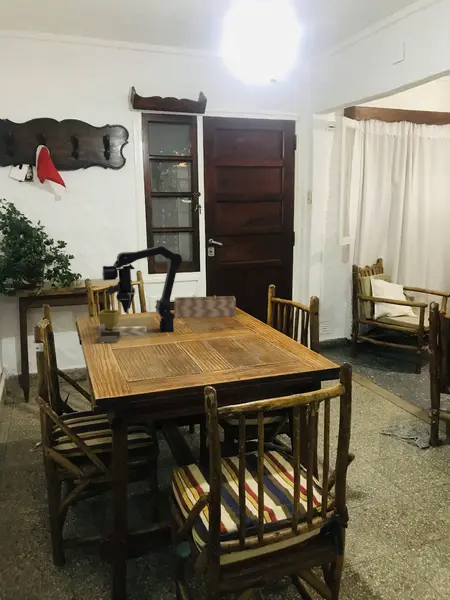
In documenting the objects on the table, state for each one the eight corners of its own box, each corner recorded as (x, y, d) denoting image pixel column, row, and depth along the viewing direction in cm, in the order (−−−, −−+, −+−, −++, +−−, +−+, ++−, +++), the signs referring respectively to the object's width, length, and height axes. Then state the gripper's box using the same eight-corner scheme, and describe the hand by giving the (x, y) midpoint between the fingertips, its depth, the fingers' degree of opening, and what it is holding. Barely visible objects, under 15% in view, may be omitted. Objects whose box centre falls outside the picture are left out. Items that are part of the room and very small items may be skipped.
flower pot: (120, 326, 257) (119, 309, 255) (115, 330, 248) (114, 313, 247) (104, 326, 258) (103, 309, 256) (98, 330, 249) (97, 313, 248)
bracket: (120, 337, 235) (119, 323, 234) (117, 342, 225) (116, 328, 224) (102, 337, 235) (102, 323, 233) (98, 343, 225) (98, 328, 223)
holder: (234, 311, 292) (233, 294, 290) (235, 316, 280) (235, 298, 278) (175, 313, 290) (174, 295, 288) (174, 317, 278) (174, 299, 276)
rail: (146, 334, 242) (146, 326, 242) (145, 335, 239) (145, 327, 238) (114, 334, 242) (113, 326, 241) (112, 336, 238) (112, 328, 237)
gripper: (111, 276, 245) (114, 307, 248) (104, 282, 227) (106, 315, 230) (134, 276, 245) (136, 306, 248) (128, 281, 227) (130, 314, 230)
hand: (127, 310), depth 239 cm, fingers open, 9 cm apart
